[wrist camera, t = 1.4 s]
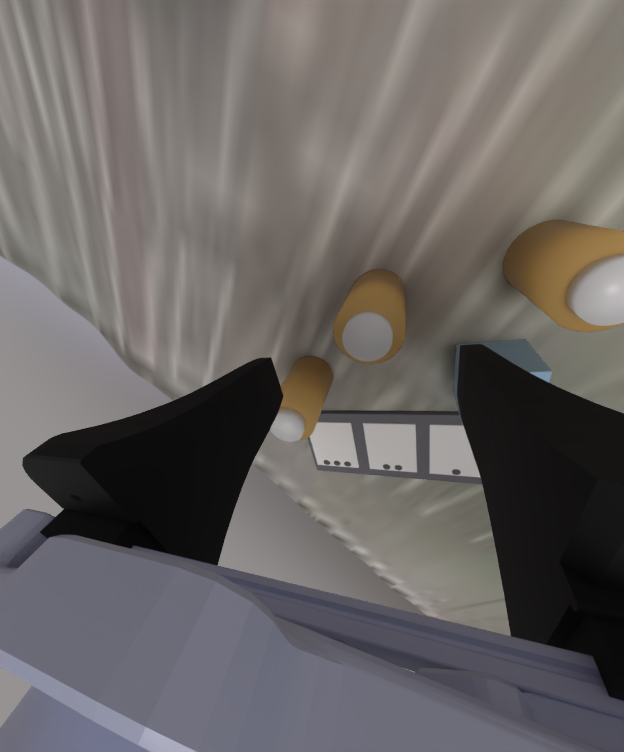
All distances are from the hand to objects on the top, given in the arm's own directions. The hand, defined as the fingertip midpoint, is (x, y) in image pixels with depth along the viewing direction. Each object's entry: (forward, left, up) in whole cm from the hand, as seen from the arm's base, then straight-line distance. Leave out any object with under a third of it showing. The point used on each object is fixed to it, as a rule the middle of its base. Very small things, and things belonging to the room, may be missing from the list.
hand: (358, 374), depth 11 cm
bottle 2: (0, 0, -10) cm, 10 cm away
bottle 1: (-6, +6, -10) cm, 13 cm away
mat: (-14, 0, -10) cm, 17 cm away
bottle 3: (+1, -9, -10) cm, 13 cm away
